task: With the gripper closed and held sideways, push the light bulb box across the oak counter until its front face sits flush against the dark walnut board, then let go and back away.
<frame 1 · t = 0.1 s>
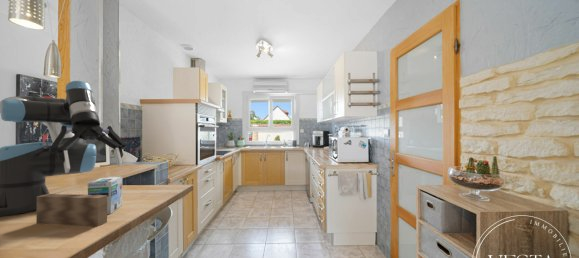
hand: (95, 167, 77), 15 cm above the table, tool tilted 35°, fingers open, 13 cm apart
light bulb box: (106, 210, 81), on the table
walnut board: (71, 222, 70), on the table
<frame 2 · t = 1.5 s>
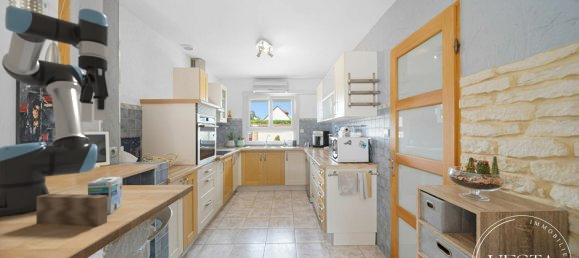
hand: (92, 121, 78), 31 cm above the table, tool pointing down, fingers open, 13 cm apart
nothing on the table moved.
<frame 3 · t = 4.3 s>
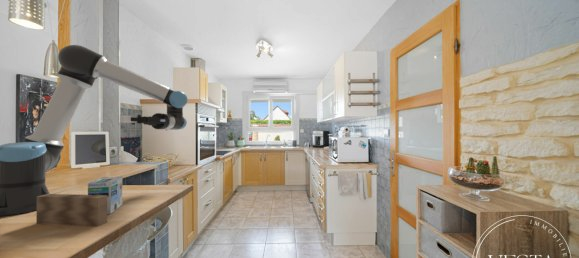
hand: (122, 118, 88), 32 cm above the table, tool horizontal, fingers closed
nothing on the table moved.
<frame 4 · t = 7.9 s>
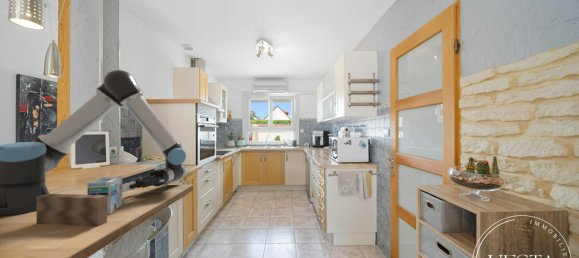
hand: (120, 188, 87), 6 cm above the table, tool horizontal, fingers closed
light bulb box: (105, 210, 81), on the table, touching gripper
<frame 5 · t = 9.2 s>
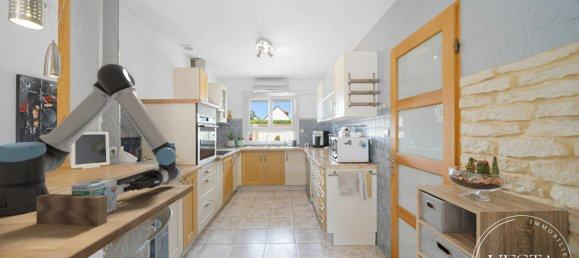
hand: (112, 192, 82), 6 cm above the table, tool horizontal, fingers closed on light bulb box
light bulb box: (95, 215, 77), on the table, touching gripper, walnut board
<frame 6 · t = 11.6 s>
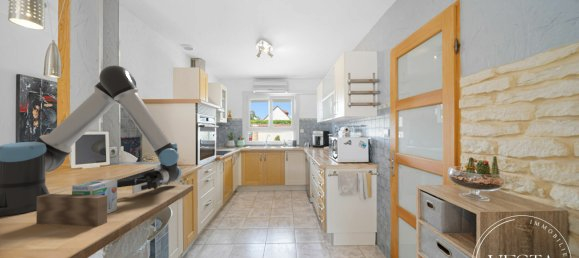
hand: (116, 189, 85), 6 cm above the table, tool horizontal, fingers open, 13 cm apart
light bulb box: (95, 215, 77), on the table
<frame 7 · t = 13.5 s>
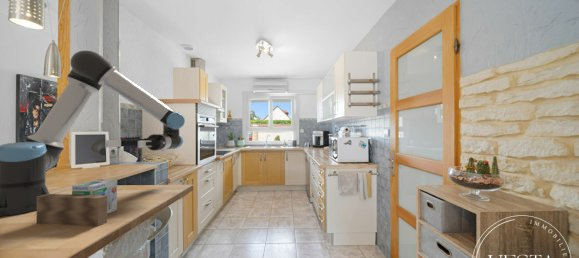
hand: (122, 144, 91), 22 cm above the table, tool horizontal, fingers open, 13 cm apart
nothing on the table moved.
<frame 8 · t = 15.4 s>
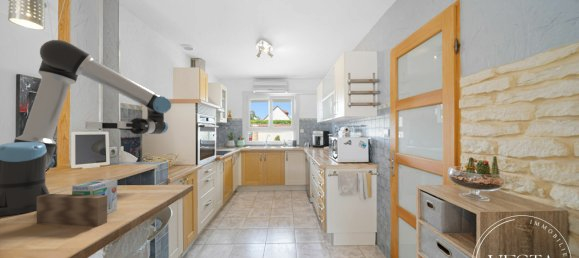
hand: (102, 124, 91), 30 cm above the table, tool horizontal, fingers open, 13 cm apart
nothing on the table moved.
at the end: light bulb box 0.9 cm from the target spot on the table beside the walnut board, on the table; light bulb box 7.0 cm from the walnut board (horizontally); light bulb box tilted 0° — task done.
